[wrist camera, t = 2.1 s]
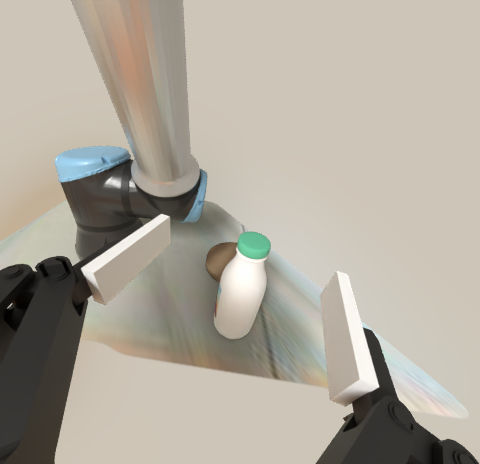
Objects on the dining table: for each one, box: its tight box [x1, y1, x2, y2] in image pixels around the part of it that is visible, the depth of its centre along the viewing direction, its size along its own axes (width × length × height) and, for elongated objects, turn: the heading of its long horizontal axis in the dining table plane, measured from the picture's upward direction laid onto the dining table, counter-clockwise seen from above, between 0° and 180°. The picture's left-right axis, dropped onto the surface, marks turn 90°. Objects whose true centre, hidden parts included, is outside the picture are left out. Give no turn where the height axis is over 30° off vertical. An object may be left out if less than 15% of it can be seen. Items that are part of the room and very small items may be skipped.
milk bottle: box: [214, 232, 271, 339], centre depth 31 cm, size 8×8×20 cm
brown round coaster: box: [206, 242, 238, 283], centre depth 49 cm, size 14×14×2 cm
